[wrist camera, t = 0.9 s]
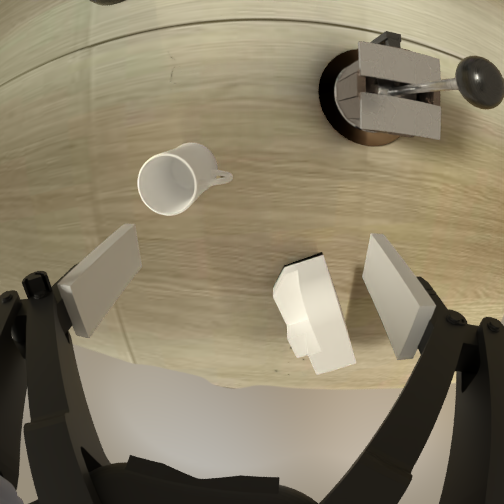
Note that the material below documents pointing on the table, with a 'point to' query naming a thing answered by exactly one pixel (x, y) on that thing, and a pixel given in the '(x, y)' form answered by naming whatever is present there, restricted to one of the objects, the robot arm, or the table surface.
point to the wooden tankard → (382, 106)
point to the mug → (178, 178)
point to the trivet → (331, 110)
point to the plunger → (452, 84)
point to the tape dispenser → (313, 314)
